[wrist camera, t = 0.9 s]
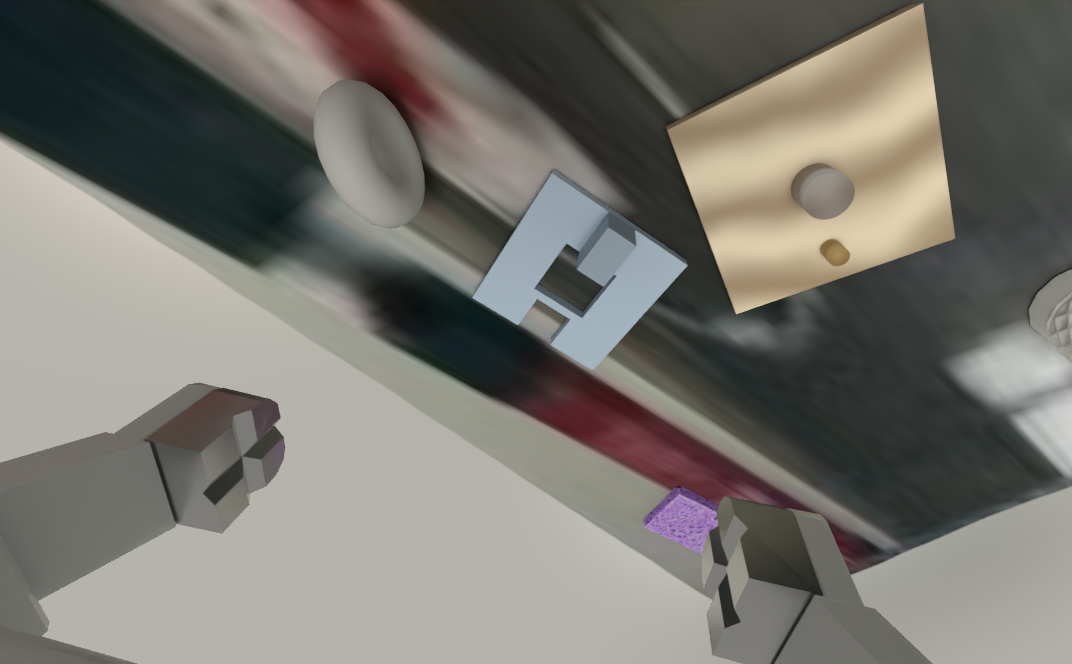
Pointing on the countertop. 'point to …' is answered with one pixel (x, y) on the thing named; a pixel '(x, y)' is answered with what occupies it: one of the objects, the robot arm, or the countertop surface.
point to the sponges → (684, 518)
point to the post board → (828, 126)
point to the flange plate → (542, 250)
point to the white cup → (1055, 313)
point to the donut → (369, 154)
